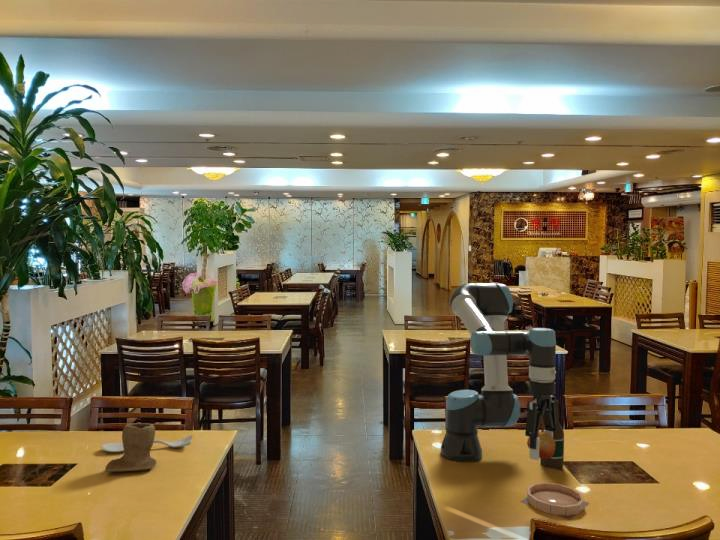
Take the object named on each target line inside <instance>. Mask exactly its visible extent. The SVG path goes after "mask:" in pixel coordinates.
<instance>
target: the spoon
mask: <svg viewBox="0 0 720 540" xmlns="http://www.w3.org/2000/svg"><path fill="white" fill-rule="evenodd" d="M193 437H194V435H192V434H191V435H187V436H185V437H183V438H180V439H176V440H174V441H171V442H169V441H166V440H162V439H154V442H153V444H155V443H156V444H157V443H158V444H163V445H165V446H168V447H169V448H182V447H187V446H190V445H191V444H192V443H191V441H192V439H193ZM101 449H102V450H103V451H105V452H109V453H124V448H123V442H108V443H103V444H102V445H101Z"/></svg>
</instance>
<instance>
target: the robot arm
mask: <svg viewBox="0 0 720 540" xmlns="http://www.w3.org/2000/svg"><path fill="white" fill-rule="evenodd" d="M513 306H514V300H513V295H512V291H511V290H510V287H508V286H507V285H506V284H504V283H495V282H492V283H489V282H488V283H485V282H484V283H483V282H479V283H471V282H467V283H464V284H461V285H459V286H458V287H456V288H455V289H454V290H453V291H452V293H451V294H450V297H449V307H450V310H451V311H452V312H453V314H454V315H455V316H456V317H458V318H460V321H461V322H462V324H463V325H464V326H465V328H466V330H467V331H468V333H469V334H470V337H469V338H470V339H469V341H470V342H469V344H470V349H471V352H472V354H474V355H476V356H477V355H478V356H483V373H484V386H482V387H481V391H480V393H481V394H480V393H479V392H478V391H477V390H473V389H459V390H455V391H452V392H450V393H449V394H448V395H447V397H446V401H445V403H446V404H445V410H446V411H445V433H444V437H443V440H442V443H441V446H440V454H441V456H443V457H444V458H446V459H448V460H451V461H455V462H460V463H461V462H464V463H470V462H476V461H478V460H481V459H482V457H483V448H482V447H481V442H480V439H479V433H478V429H479V427H480V428H483V427H485V428H486V427H488V428H492V427H499V428H505V427H512V426H514V425H516V423H517V422H518V420H519V416H520V413H521V412H520V410H521V406H520V405H521V404H520V403H521V402H520V401H519V397H518V395H517V394H515V393H514V391H513V390H514V389H513V388H511V386H509V378H508V377H509V376H508V375H509V374H508V360H507V358H508V357H507V356H528V360H529V361H528V378H529V381H528V391H529V393H530V394H532V400H531V401H527V402H526V406H527V408H526V409H527V412H526V422H525V432H524V434H525V435H524V436H526V437H528V438H529V437H530V449H529V448H528V449H529V459H531V460H534V461H540V458H539V438H538V433H539V432H540V427H541V423H542V421H543V426H545V429H547V430H543V432H546V433H548V434H549V435H550V436H551V437H553V431H555V432H556V430H557V428H556V427H557V420H556V406H555V402H556V400H557V398H556V396H554V395H555V394H556V381H555V380H556V374H557V371H556V347H557V340H556V331H555V330H554V329H553V328H552V329H551V328H547V327H533V328H530V330H527V329H526V330H525V329H521V330H517V331H505V329H506V327H505V325H506V324H505V322H506V320H507V319H508V318H509V314H510V313H512V312H513ZM554 427H555V428H554Z"/></svg>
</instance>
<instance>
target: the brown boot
mask: <svg viewBox="0 0 720 540" xmlns="http://www.w3.org/2000/svg"><path fill="white" fill-rule="evenodd" d="M155 435H156V427H155V426H154V424H153V423H147V422H145V423H144V422H141V423H140V422H139V423H137V422H136V423H127V424H125V425H124V427H123V430H122V434H121V441H122V442H121V443H123V448H124V451H123V455H122V456H121V457H120V458H115V459H112V460H110V461H109V462H108V463H107V464H106V466H105V470H104V472H106V473H113V472H115V473H116V472H118V473H119V472H120V473H121V472H135V471H143V470H151V469H152V468H154V467H156V465H157V460H156V458H153V457H151V450H152V448H153V444H154V443H153V442H154V440H155Z"/></svg>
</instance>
